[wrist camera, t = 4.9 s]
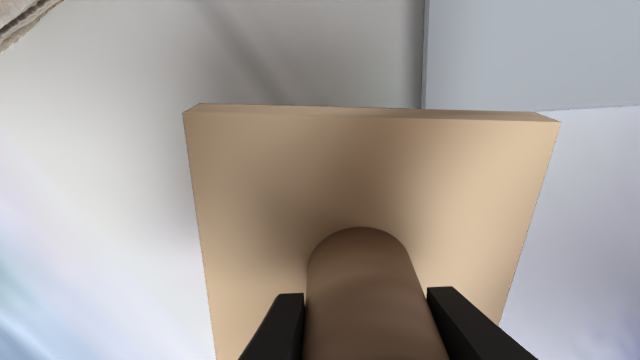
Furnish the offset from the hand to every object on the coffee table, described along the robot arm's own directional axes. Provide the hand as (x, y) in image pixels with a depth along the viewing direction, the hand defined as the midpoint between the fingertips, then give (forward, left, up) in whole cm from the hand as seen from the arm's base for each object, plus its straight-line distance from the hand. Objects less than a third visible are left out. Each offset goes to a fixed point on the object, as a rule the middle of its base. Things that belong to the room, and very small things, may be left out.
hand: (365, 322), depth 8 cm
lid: (0, 0, -3) cm, 3 cm away
